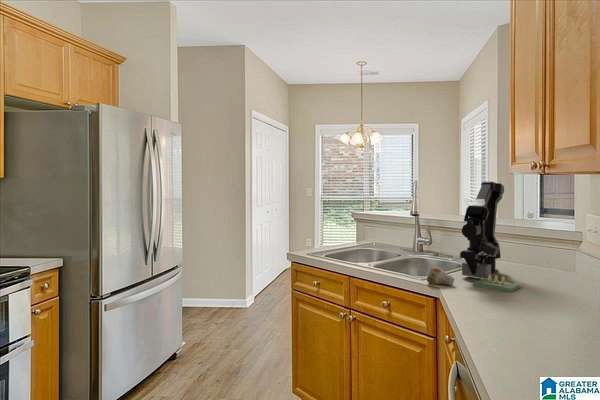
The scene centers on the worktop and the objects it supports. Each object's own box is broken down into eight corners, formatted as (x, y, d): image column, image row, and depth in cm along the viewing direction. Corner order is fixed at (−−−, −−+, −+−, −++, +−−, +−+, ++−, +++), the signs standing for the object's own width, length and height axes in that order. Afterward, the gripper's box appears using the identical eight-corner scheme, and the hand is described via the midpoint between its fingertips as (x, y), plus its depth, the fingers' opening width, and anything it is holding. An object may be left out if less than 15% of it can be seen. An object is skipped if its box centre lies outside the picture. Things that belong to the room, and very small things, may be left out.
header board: (482, 281, 183) (482, 271, 183) (519, 287, 173) (519, 276, 173) (473, 285, 177) (473, 275, 176) (511, 292, 167) (511, 280, 167)
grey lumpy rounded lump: (454, 288, 174) (440, 265, 174) (432, 296, 180) (419, 273, 180) (459, 280, 180) (446, 258, 180) (438, 287, 186) (426, 266, 186)
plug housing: (467, 273, 194) (467, 261, 193) (491, 276, 187) (491, 264, 186) (461, 275, 190) (462, 263, 190) (486, 278, 183) (486, 266, 183)
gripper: (487, 239, 175) (487, 280, 176) (505, 234, 188) (505, 272, 189) (459, 237, 183) (459, 276, 184) (478, 232, 196) (478, 268, 197)
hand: (476, 273), depth 188 cm, fingers closed on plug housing, 5 cm apart
